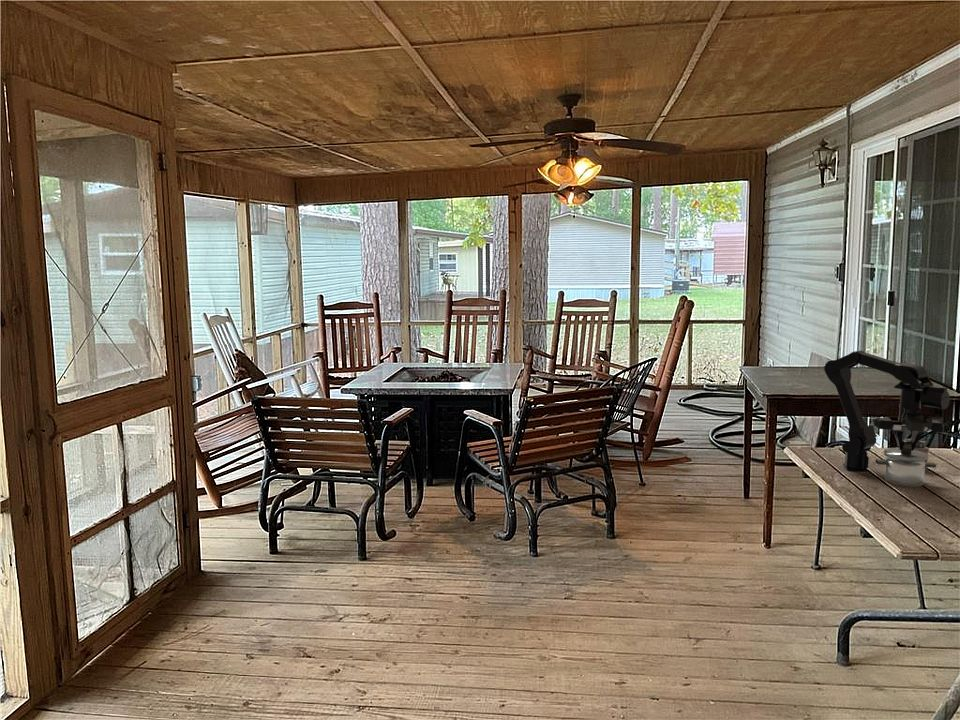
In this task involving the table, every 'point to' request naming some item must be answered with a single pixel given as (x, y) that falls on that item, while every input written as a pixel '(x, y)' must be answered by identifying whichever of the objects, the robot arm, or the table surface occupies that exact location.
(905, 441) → the lid
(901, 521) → the table surface
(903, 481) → the pot
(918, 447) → the lighter
